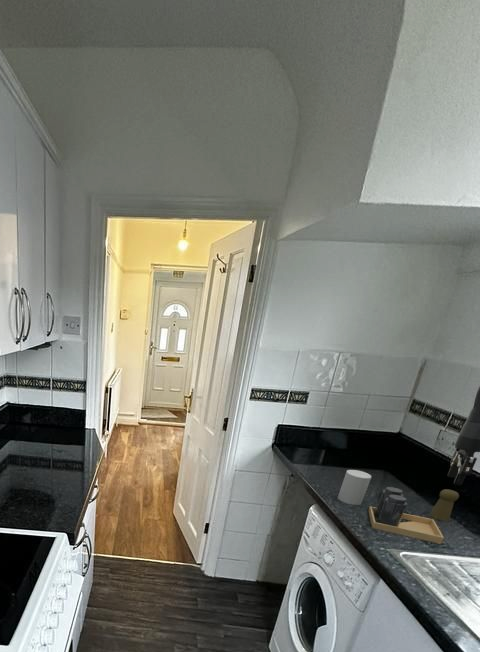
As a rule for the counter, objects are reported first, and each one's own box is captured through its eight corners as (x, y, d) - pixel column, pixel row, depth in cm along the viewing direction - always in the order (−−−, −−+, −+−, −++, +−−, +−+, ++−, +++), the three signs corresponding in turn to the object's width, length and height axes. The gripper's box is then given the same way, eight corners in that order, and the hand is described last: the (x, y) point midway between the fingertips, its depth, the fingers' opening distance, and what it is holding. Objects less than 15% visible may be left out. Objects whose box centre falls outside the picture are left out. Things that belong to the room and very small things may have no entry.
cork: (428, 512, 154) (440, 485, 150) (448, 517, 151) (461, 490, 146) (428, 518, 150) (441, 491, 145) (449, 524, 147) (462, 496, 142)
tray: (430, 525, 144) (433, 519, 143) (440, 544, 132) (444, 537, 131) (367, 512, 152) (369, 506, 151) (371, 529, 139) (373, 522, 138)
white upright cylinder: (365, 507, 157) (376, 478, 152) (346, 507, 155) (357, 478, 150) (350, 497, 164) (360, 469, 159) (332, 498, 162) (341, 469, 157)
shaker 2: (395, 525, 142) (407, 496, 137) (398, 532, 137) (410, 502, 132) (375, 521, 144) (386, 492, 140) (377, 528, 139) (388, 498, 135)
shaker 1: (392, 516, 148) (403, 488, 144) (394, 523, 143) (406, 494, 139) (373, 512, 151) (383, 485, 146) (374, 519, 146) (385, 490, 141)
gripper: (495, 442, 131) (473, 489, 137) (481, 433, 142) (461, 476, 149) (466, 438, 134) (445, 484, 140) (454, 429, 145) (436, 472, 152)
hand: (454, 480), depth 145 cm, fingers open, 8 cm apart
